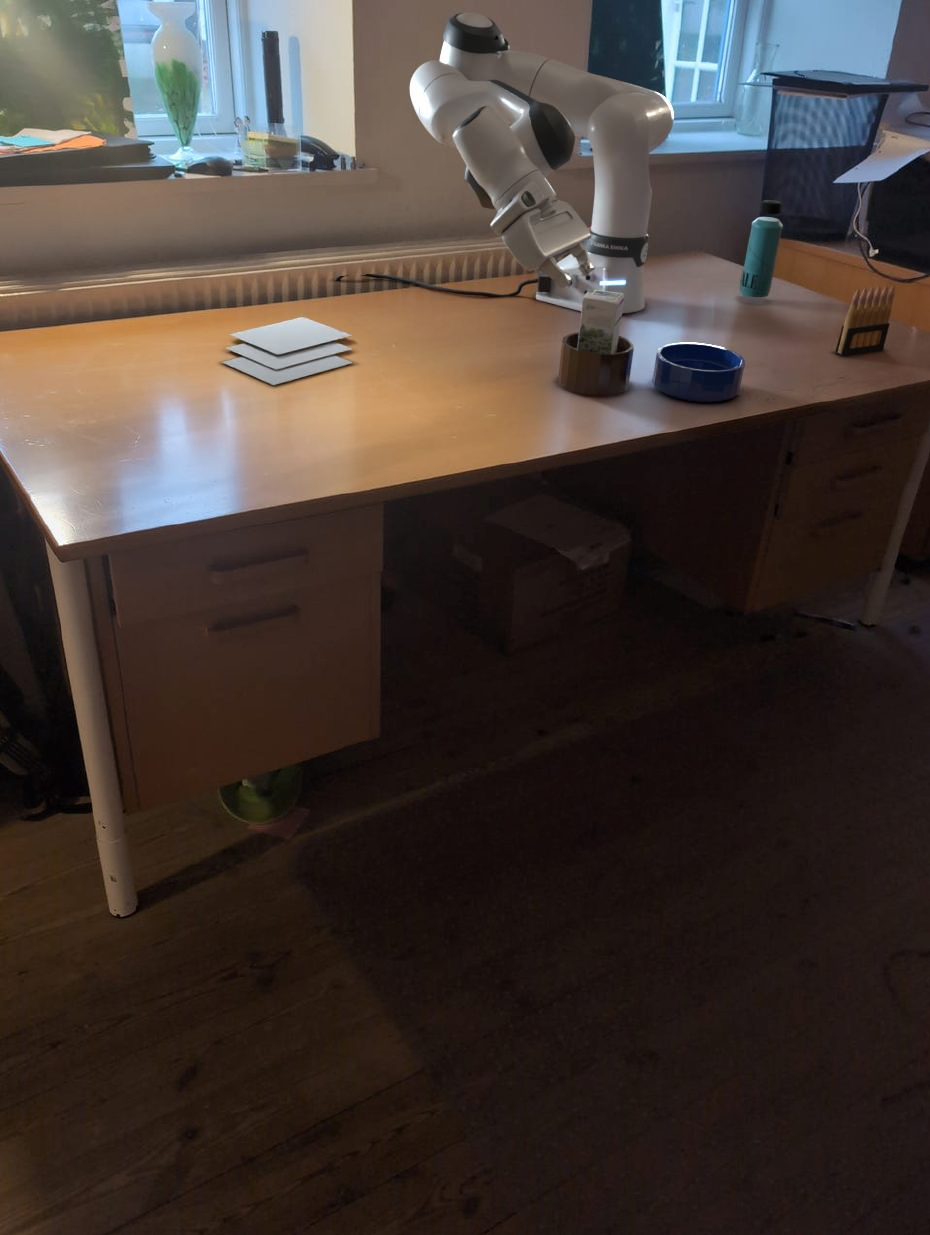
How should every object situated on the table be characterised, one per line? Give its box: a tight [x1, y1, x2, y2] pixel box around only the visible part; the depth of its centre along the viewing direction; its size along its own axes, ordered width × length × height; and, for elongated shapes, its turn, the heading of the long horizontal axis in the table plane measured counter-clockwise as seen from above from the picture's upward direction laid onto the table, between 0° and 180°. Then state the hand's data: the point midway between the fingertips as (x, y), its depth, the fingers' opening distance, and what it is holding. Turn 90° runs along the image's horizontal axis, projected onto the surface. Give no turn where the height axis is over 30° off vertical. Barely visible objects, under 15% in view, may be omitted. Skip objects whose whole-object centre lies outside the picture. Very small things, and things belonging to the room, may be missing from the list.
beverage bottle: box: [739, 199, 784, 298], centre depth 209 cm, size 6×7×20 cm
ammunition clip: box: [834, 284, 896, 357], centre depth 185 cm, size 11×2×12 cm, turn 117°
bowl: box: [651, 342, 746, 403], centre depth 166 cm, size 14×14×6 cm
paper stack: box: [221, 316, 353, 386], centre depth 173 cm, size 23×25×1 cm
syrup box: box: [577, 289, 624, 353], centre depth 163 cm, size 6×6×14 cm
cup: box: [557, 331, 635, 398], centre depth 165 cm, size 12×12×7 cm
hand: (578, 278), depth 160 cm, fingers open, 8 cm apart
